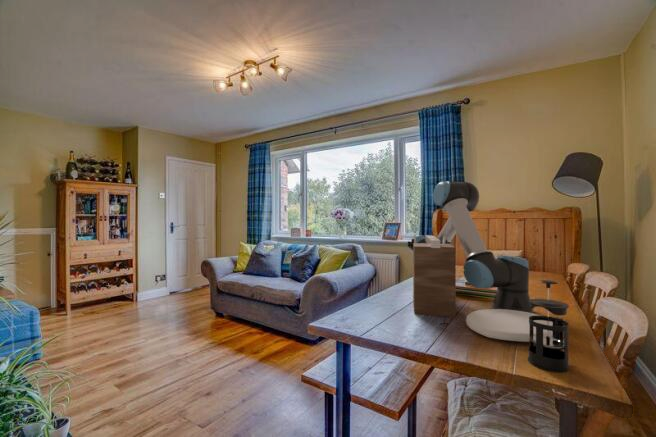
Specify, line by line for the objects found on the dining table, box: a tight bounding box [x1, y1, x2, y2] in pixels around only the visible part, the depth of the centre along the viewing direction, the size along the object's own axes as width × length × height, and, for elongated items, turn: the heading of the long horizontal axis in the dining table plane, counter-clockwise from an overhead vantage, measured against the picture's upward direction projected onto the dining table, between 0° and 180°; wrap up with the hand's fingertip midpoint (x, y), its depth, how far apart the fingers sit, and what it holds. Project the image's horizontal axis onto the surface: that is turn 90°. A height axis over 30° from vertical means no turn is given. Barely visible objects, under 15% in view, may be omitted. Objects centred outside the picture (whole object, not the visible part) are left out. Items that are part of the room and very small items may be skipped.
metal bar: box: [425, 234, 440, 248], centre depth 139 cm, size 32×4×3 cm, turn 166°
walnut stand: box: [412, 243, 457, 318], centre depth 135 cm, size 16×16×28 cm
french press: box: [527, 279, 571, 373], centre depth 86 cm, size 12×9×23 cm
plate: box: [465, 308, 553, 343], centre depth 110 cm, size 28×6×27 cm
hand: (429, 237), depth 148 cm, fingers open, 13 cm apart
